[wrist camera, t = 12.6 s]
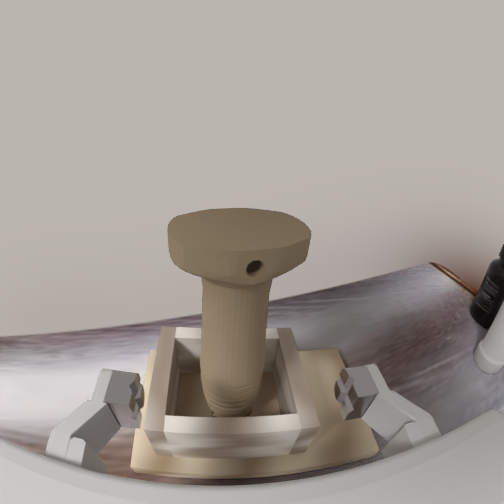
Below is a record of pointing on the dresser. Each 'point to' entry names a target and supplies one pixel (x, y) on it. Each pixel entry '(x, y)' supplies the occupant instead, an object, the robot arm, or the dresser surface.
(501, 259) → the supplement bottle
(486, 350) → the bottle
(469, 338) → the dresser surface
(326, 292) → the dresser surface
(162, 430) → the tool holder
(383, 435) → the robot arm
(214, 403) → the handle
